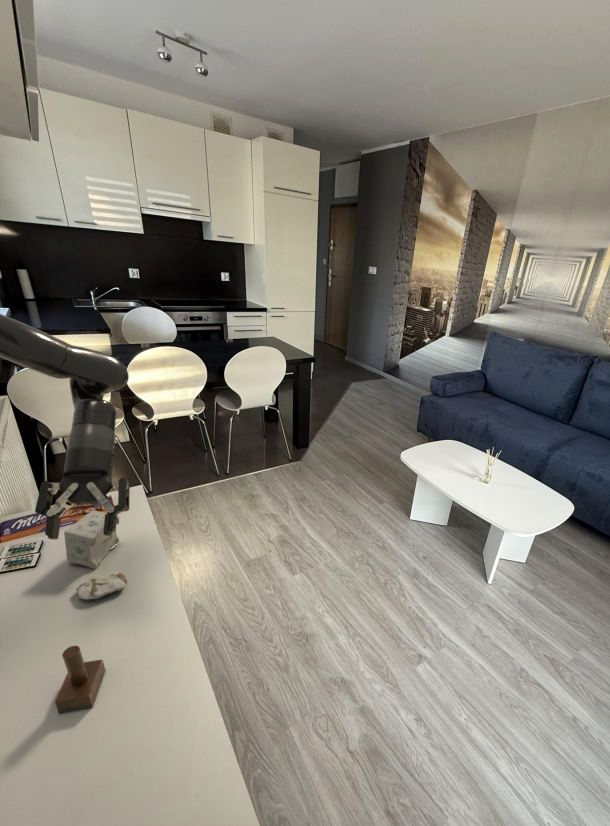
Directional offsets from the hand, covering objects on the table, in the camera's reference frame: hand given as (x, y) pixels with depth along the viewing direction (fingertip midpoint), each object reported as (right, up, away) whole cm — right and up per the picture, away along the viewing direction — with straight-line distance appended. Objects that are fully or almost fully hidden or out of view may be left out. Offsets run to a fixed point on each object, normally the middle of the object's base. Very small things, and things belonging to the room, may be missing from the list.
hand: (80, 537), depth 71 cm
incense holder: (-17, -12, +30) cm, 37 cm away
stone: (-9, -17, +20) cm, 28 cm away
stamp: (+1, -27, -1) cm, 27 cm away
